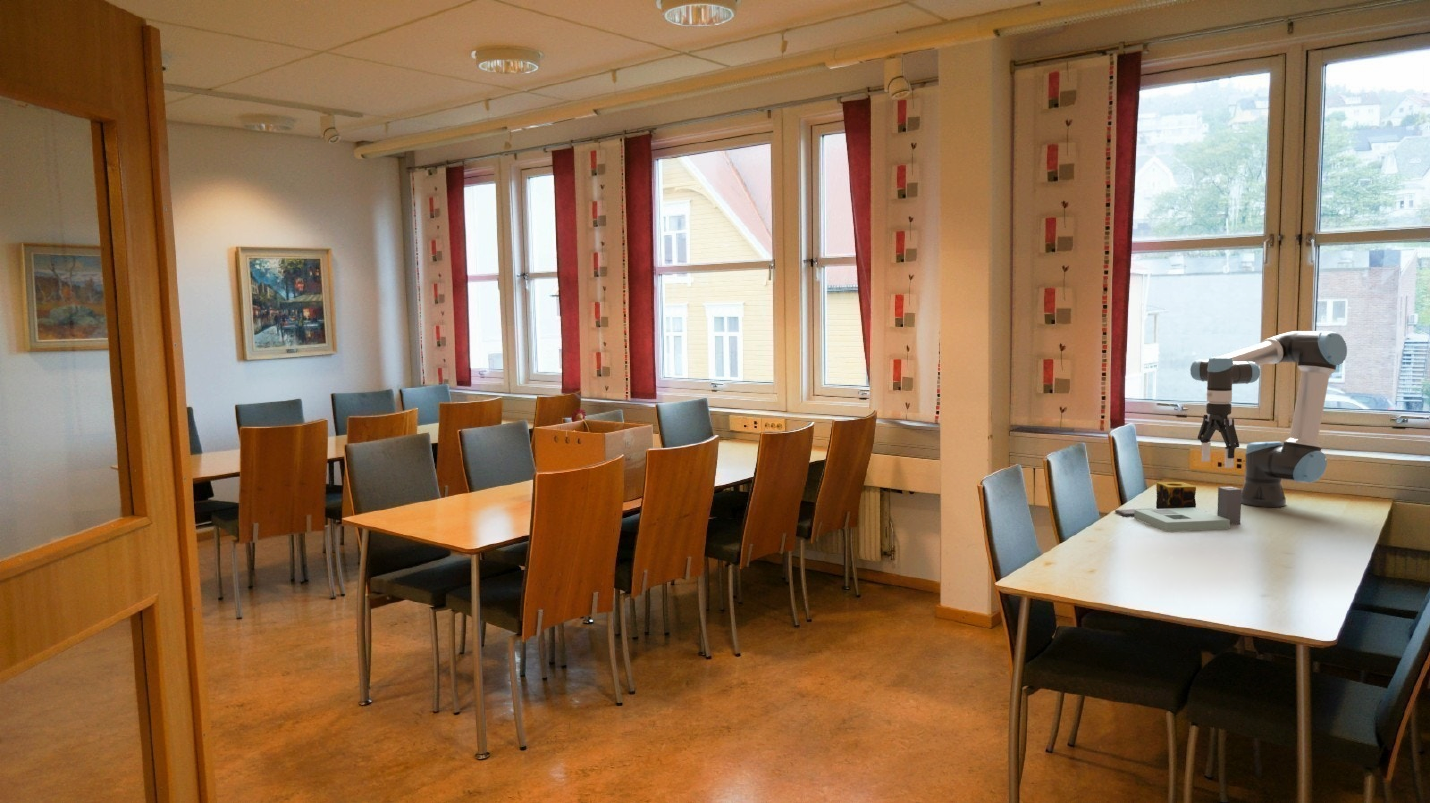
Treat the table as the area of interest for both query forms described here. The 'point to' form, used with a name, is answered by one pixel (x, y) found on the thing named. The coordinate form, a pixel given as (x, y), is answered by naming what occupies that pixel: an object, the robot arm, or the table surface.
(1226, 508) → the grey rectangular block
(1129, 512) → the phone
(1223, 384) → the robot arm
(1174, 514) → the outlet board
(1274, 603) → the table surface
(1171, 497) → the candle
